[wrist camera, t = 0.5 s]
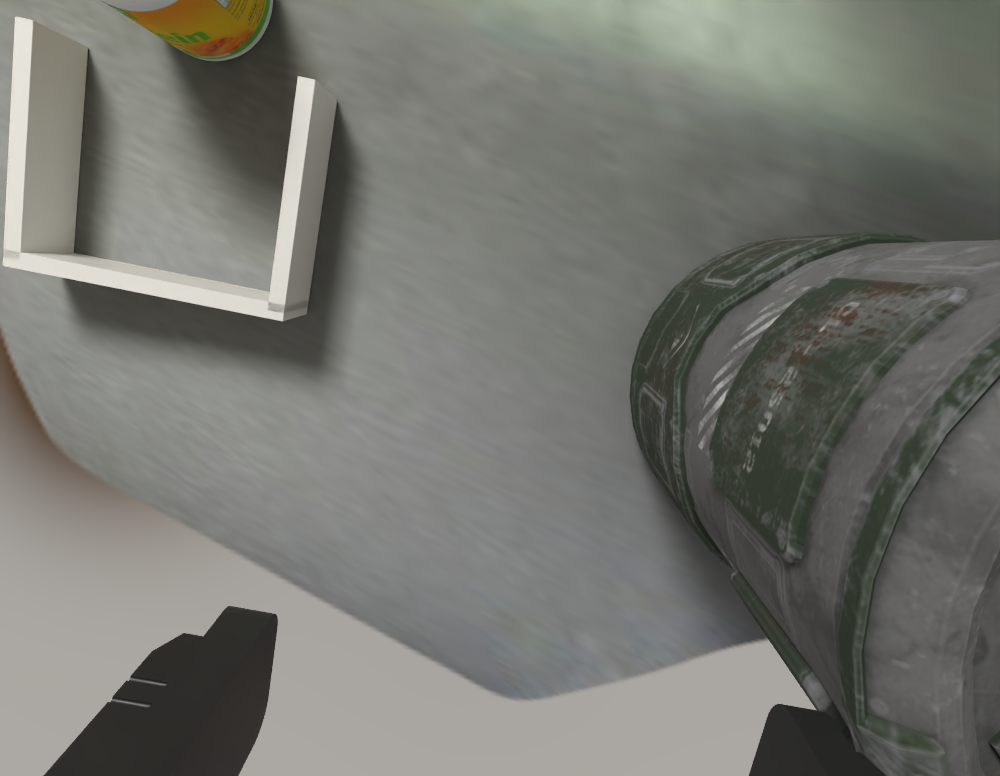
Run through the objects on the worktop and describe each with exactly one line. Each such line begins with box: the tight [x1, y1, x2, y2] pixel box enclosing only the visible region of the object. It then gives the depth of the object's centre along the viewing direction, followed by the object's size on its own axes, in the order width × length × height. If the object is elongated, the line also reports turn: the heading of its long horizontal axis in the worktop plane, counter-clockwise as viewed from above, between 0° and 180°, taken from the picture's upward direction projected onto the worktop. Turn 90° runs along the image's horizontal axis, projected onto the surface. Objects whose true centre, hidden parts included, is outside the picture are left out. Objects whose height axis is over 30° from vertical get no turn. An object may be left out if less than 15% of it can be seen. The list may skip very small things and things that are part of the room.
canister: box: [630, 233, 1000, 776], centre depth 23 cm, size 16×16×28 cm
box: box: [3, 17, 337, 321], centre depth 33 cm, size 11×14×4 cm
